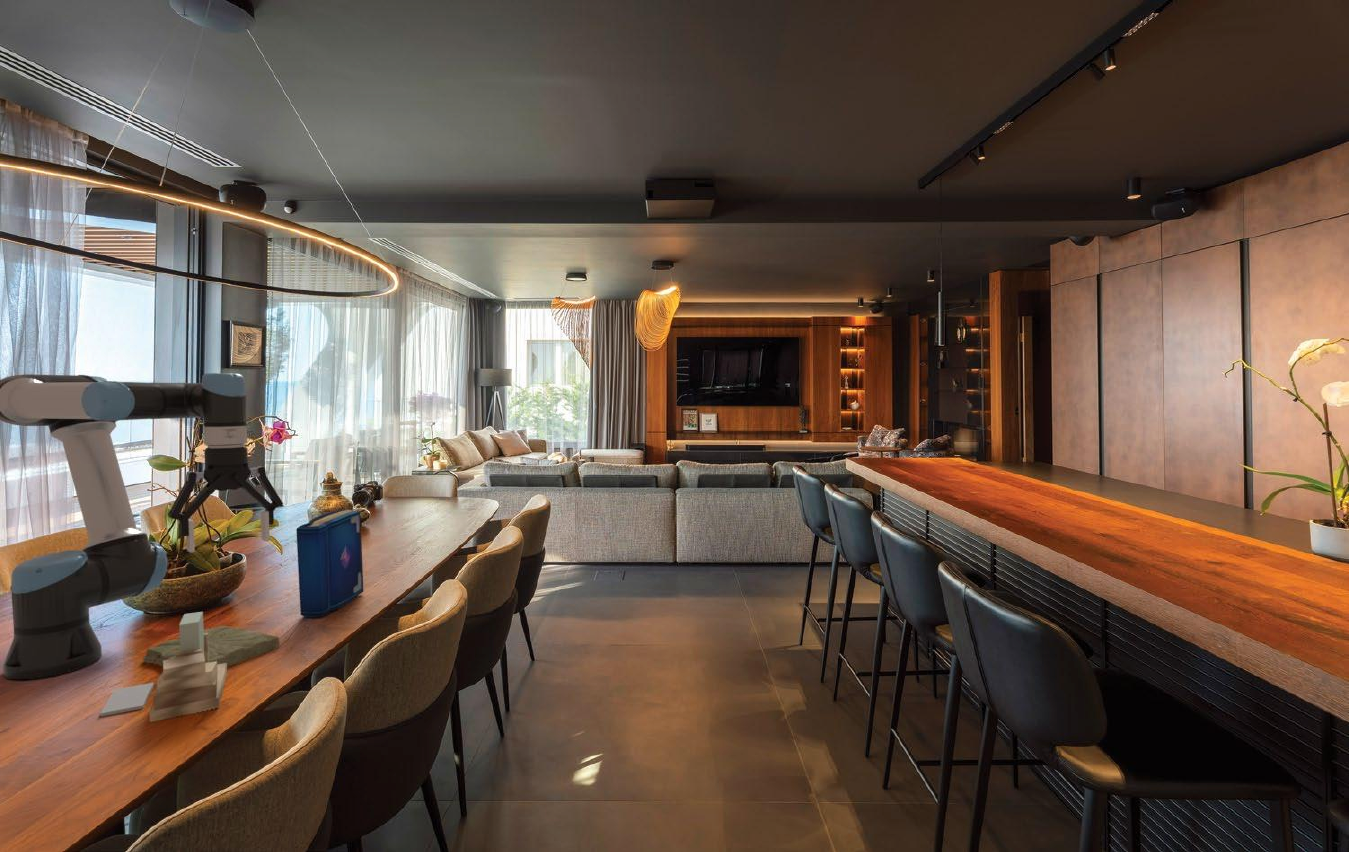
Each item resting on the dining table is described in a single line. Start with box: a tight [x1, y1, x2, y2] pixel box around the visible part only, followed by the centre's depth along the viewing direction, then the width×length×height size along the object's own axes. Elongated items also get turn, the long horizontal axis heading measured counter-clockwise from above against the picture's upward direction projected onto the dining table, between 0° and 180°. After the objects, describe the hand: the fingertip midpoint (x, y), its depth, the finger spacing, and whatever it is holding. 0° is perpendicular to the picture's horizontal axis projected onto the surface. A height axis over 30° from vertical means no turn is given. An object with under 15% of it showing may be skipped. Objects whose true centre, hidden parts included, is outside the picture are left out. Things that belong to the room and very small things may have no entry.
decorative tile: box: [142, 625, 281, 668], centre depth 144 cm, size 19×20×4 cm
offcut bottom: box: [153, 676, 217, 711], centre depth 120 cm, size 9×6×2 cm, turn 123°
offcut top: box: [162, 653, 205, 681], centre depth 119 cm, size 6×5×2 cm
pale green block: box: [178, 611, 205, 658], centre depth 128 cm, size 3×7×12 cm, turn 30°
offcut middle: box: [156, 661, 218, 693], centre depth 120 cm, size 8×5×2 cm, turn 115°
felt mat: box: [99, 682, 155, 718], centre depth 123 cm, size 6×11×1 cm, turn 31°
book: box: [296, 509, 364, 618], centre depth 177 cm, size 22×7×25 cm, turn 179°
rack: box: [149, 633, 228, 723], centre depth 125 cm, size 10×18×9 cm, turn 30°
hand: (229, 545), depth 139 cm, fingers open, 13 cm apart
